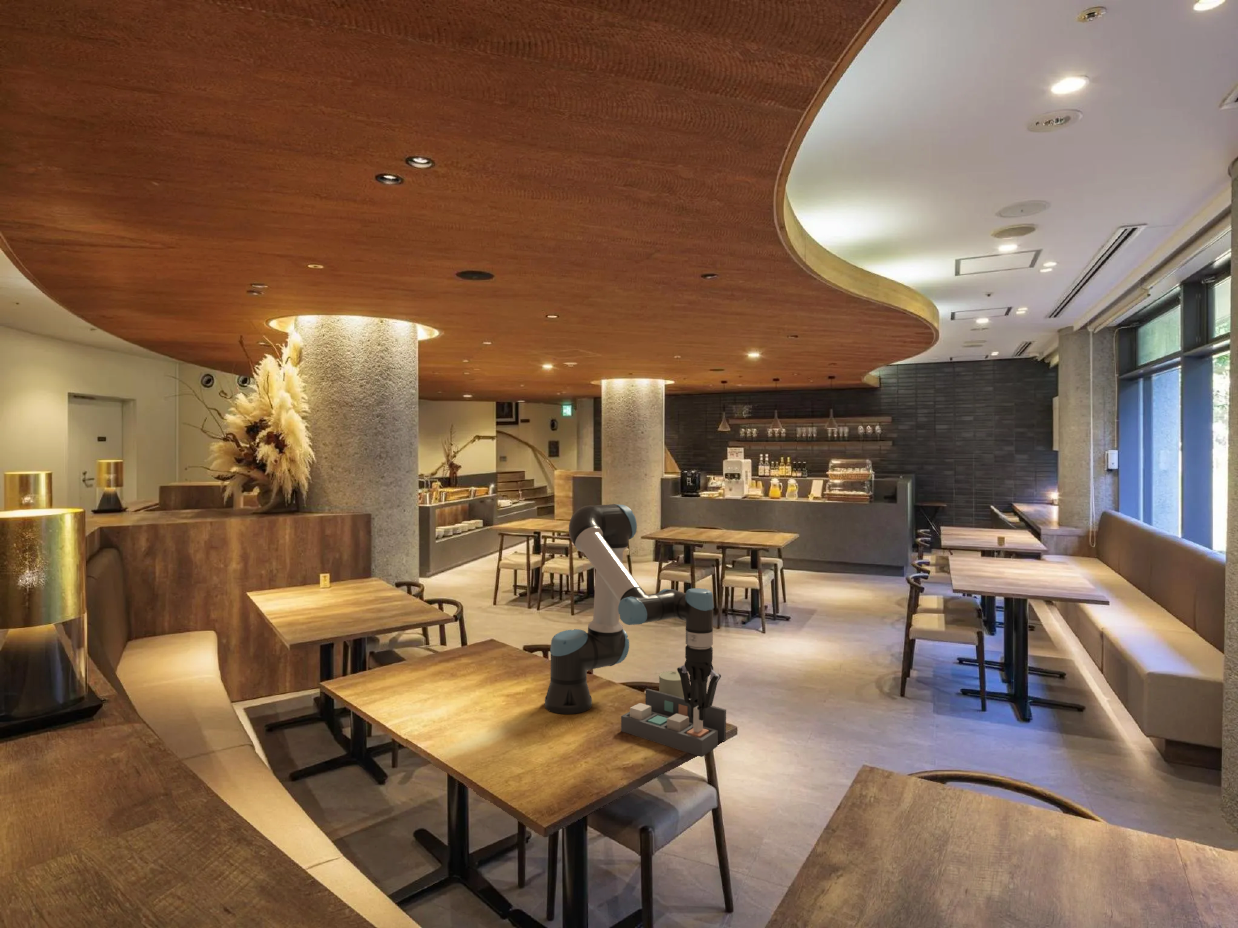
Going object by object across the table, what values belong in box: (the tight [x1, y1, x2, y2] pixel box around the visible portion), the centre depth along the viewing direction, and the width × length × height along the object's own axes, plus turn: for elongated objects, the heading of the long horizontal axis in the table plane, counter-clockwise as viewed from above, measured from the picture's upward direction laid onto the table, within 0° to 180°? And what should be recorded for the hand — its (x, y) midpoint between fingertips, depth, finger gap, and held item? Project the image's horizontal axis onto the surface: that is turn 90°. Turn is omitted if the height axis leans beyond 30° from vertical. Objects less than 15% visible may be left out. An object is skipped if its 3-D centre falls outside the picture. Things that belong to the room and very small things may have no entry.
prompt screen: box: [644, 688, 727, 743], centre depth 202 cm, size 27×1×9 cm, turn 53°
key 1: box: [629, 702, 651, 720], centre depth 202 cm, size 4×5×4 cm
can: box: [658, 670, 684, 698], centre depth 216 cm, size 9×9×12 cm
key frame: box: [620, 711, 719, 758], centre depth 196 cm, size 27×9×4 cm, turn 53°
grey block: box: [667, 713, 689, 732], centre depth 194 cm, size 4×5×4 cm
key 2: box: [648, 715, 667, 726], centre depth 198 cm, size 4×5×4 cm
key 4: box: [687, 728, 709, 738], centre depth 190 cm, size 4×5×4 cm
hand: (698, 730), depth 190 cm, fingers closed
